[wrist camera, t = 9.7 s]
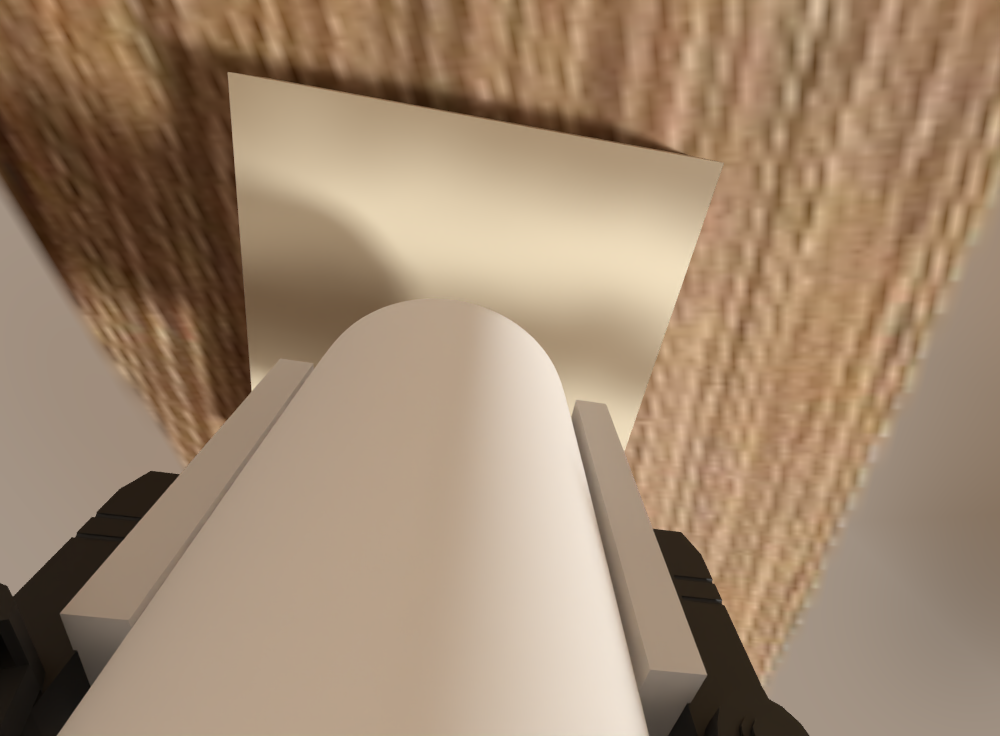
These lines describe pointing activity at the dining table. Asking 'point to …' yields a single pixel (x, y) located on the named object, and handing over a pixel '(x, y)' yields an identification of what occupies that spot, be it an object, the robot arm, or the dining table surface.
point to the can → (392, 560)
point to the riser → (459, 230)
